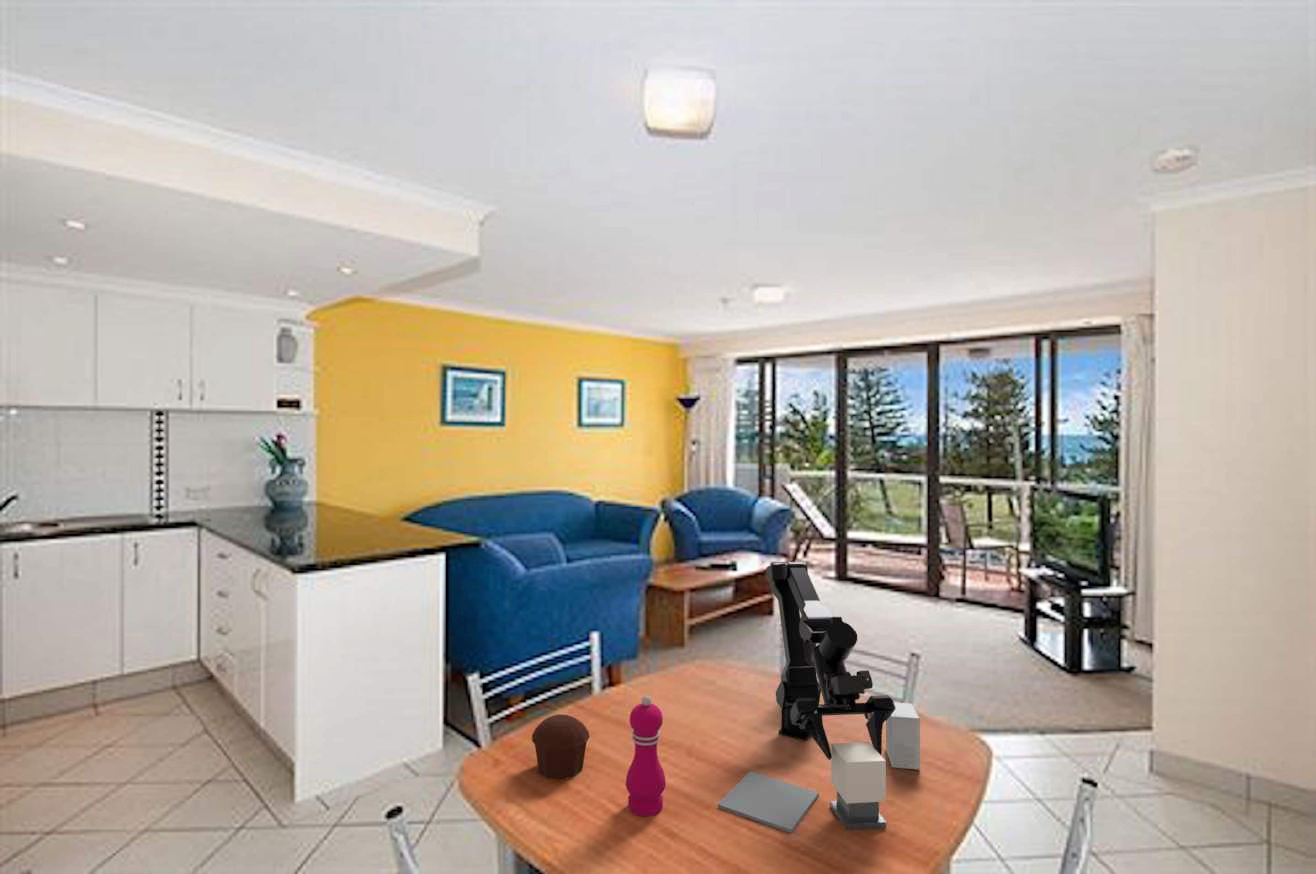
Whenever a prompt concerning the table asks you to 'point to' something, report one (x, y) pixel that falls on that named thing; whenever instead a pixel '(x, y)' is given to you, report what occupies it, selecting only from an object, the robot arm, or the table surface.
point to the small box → (903, 737)
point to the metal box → (857, 814)
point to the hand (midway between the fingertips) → (855, 757)
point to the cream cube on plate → (858, 772)
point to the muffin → (560, 746)
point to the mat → (769, 801)
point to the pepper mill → (645, 761)
